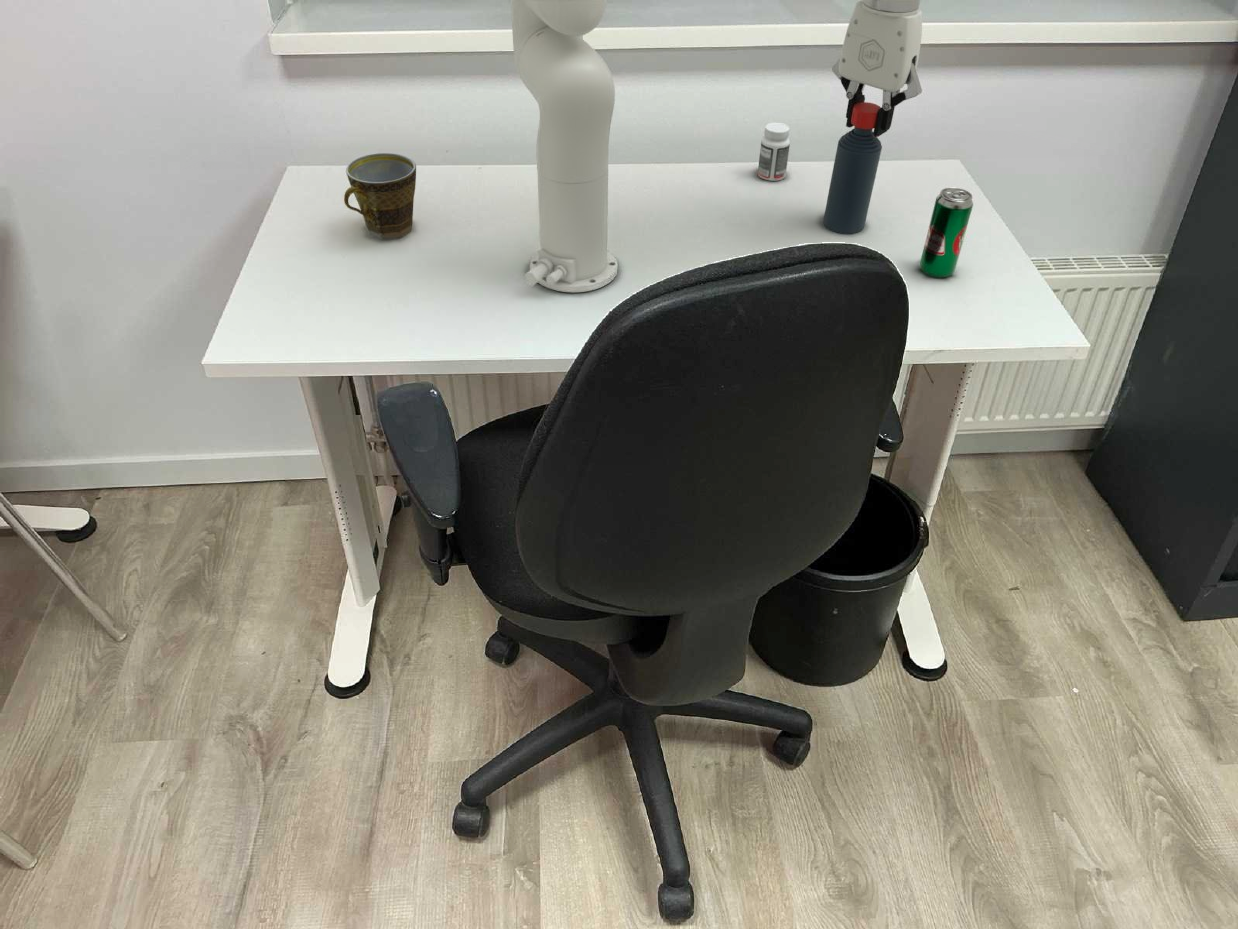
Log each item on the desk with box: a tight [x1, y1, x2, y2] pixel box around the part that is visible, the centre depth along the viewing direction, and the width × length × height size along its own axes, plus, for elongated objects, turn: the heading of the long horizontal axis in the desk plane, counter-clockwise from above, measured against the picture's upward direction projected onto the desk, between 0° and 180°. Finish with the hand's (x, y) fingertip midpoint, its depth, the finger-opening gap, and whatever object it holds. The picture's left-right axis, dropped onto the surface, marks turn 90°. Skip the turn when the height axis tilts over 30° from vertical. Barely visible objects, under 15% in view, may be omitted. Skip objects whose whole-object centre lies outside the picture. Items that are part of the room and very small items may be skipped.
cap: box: [851, 101, 882, 130], centre depth 144 cm, size 4×4×2 cm
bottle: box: [822, 126, 883, 235], centre depth 149 cm, size 6×6×18 cm
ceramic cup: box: [343, 152, 417, 241], centre depth 147 cm, size 13×10×10 cm
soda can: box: [919, 187, 974, 279], centre depth 141 cm, size 5×5×12 cm
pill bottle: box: [757, 122, 791, 182], centre depth 165 cm, size 5×5×8 cm
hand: (866, 127), depth 146 cm, fingers closed on cap, 3 cm apart
